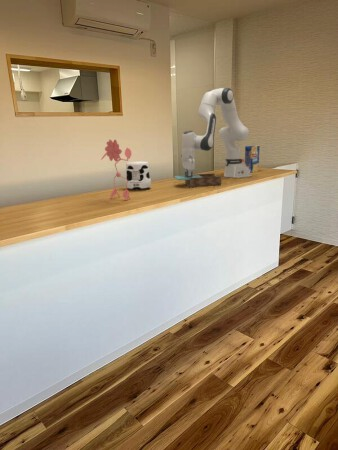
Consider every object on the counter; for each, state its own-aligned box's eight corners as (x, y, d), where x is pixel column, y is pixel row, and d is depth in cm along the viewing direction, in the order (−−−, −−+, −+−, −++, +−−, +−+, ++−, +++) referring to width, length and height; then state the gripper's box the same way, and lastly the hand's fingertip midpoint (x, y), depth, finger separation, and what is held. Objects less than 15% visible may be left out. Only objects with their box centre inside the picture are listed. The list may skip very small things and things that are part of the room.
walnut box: (214, 182, 244) (214, 173, 242) (221, 185, 230) (221, 176, 228) (185, 184, 240) (185, 175, 238) (190, 187, 226) (190, 178, 224)
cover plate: (198, 176, 239) (198, 169, 237) (203, 178, 228) (203, 172, 226) (174, 177, 235) (174, 171, 234) (178, 180, 224) (178, 173, 223)
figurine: (111, 195, 208) (105, 138, 197) (141, 200, 192) (136, 138, 181) (92, 200, 196) (85, 140, 185) (122, 206, 181) (116, 140, 170)
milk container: (143, 185, 238) (142, 160, 233) (156, 189, 224) (155, 162, 219) (121, 188, 229) (120, 162, 224) (133, 192, 215) (131, 164, 210)
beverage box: (258, 171, 290) (259, 145, 284) (250, 172, 284) (251, 146, 277) (251, 170, 295) (253, 145, 289) (244, 172, 289) (245, 146, 282)
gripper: (197, 156, 218) (197, 177, 222) (189, 154, 237) (189, 173, 241) (188, 156, 216) (188, 177, 220) (180, 154, 236) (180, 173, 240)
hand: (188, 175), depth 231 cm, fingers closed on cover plate, 2 cm apart
